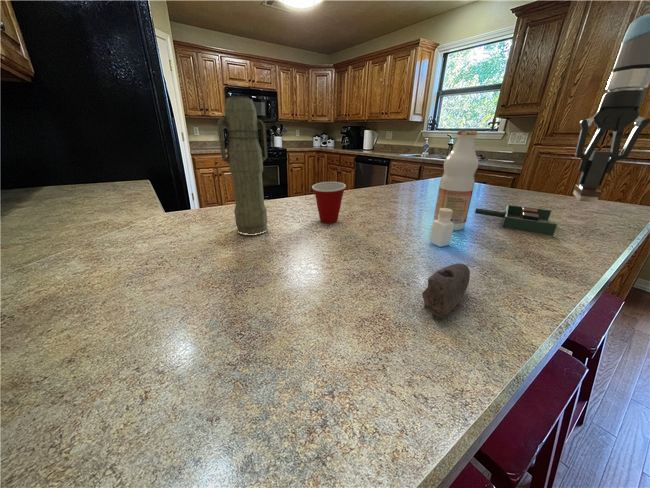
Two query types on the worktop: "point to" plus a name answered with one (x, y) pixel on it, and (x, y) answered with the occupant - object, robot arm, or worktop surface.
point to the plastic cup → (328, 200)
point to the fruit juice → (458, 179)
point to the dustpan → (522, 223)
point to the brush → (592, 178)
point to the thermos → (245, 163)
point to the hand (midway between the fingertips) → (589, 183)
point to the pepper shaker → (442, 228)
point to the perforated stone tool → (446, 289)
